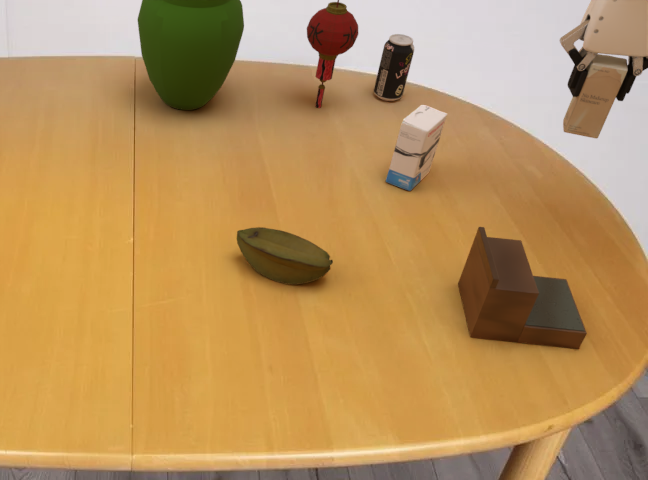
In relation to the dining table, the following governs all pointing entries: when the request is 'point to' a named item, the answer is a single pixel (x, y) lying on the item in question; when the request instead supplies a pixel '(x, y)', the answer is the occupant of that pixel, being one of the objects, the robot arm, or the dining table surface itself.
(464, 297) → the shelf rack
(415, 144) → the ink box
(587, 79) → the box
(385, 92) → the beverage can
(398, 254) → the dining table surface
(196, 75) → the vase
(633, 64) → the robot arm
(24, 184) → the dining table surface
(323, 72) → the lantern
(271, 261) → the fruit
